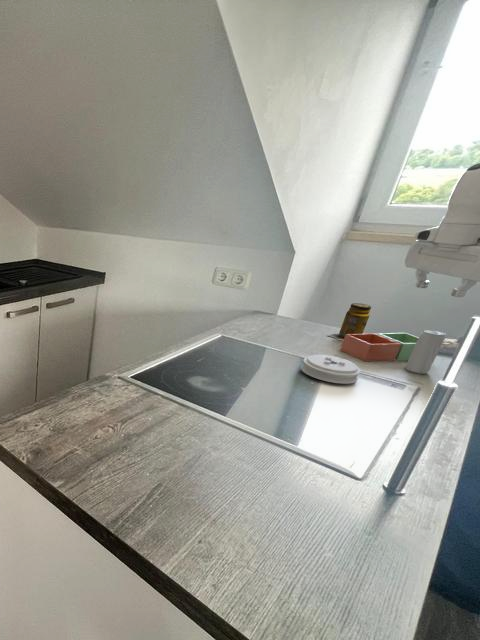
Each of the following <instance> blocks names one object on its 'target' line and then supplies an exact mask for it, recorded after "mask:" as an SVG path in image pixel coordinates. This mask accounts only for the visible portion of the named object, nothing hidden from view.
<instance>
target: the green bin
mask: <svg viewBox="0 0 480 640" xmlns="http://www.w3.org/2000/svg"><path fill="white" fill-rule="evenodd" d="M376 334H377V335H380V336H382V337H385V338H388V339H390V340H393V341H395V342H398V343H400V344H401V346H400V348H399V351H398V353H397V355H396V357H395V360H394V361H397V362H399V361H400V362H402V361H408V360H409V358H410V356H411V353H412V351H413V349H414V347H415V345H416V342H417V340H418V338H419V336H417V335H413V334H411V333H408V332H378V333H376Z"/></svg>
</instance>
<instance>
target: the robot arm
mask: <svg viewBox="0 0 480 640" xmlns="http://www.w3.org/2000/svg"><path fill="white" fill-rule="evenodd" d="M413 239H414V241H413V242H412V243H411V244H410V246H409V249H408V251H407V253H406V255H405V259H404V265H405V267H406V268H409V269H414V270H415V277H416V283H415V288H417V289H418V288H419V289H427V288H428V286H429V284H430V281H429V280H428V278H427V277H428V275H429V274H430V273H433V274H437V275H438V274H439V275H444V276H449V277H453V278H458V279H461V280H460V283H461V284H460V286H458V287H457V288H453V289H452V292H451V293H450V296H452V297H455V298H464V297H465V296H466V294H467V292H468V291H469V290H470V289H472V288H473V287H474V286H475V285H476V284H477V283H478V282H479V283H480V162H479V163H475V164H473V165H471V166H468V167H467V168H466V169H464V171H463V172H462V173H461V175H460V176H459V178H458V180H457V182H456V183H455V185H454V187H453V189H452V192H451V195H450V196H449V199H448V201H447V209H446V212H445V215H444V216H443V217H442V218H441V220H440V222H439V225H438V226H435V227H431V228H427V229H423V230H422V229H421V230H418V231H416V232H415V234H414V237H413Z"/></svg>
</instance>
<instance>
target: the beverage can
mask: <svg viewBox="0 0 480 640" xmlns="http://www.w3.org/2000/svg"><path fill="white" fill-rule="evenodd" d="M446 335H447V333H446V332H445V331H441V330H437V329H429V328H428V329H427V328H426V329H425V328H424V329H422V331H421V332H420V334H419V336H418V337H419V338H418V340H417V342H416V345H415V347H414V349H413V351H412V353H411V356H410V358H409V360H407V363H406V365H405V369H406V370H407V371H408V372H411V373H414V374H417V375H426V374H428V373H429V372H430V370H431V368H432V367H433V364H434V362H435V360H436V358H437V356H438V354H439V352H440V350H441V348H442V346H443V343H444V341H445V340H446Z"/></svg>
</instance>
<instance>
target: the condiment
mask: <svg viewBox="0 0 480 640" xmlns="http://www.w3.org/2000/svg"><path fill="white" fill-rule="evenodd" d="M371 309H372V306H371V305H369V304H365V303H358V302H355V303H351V304H350V307H349V309H348V310H347V311H346V313H345V316H344V318H343V321H342V324H341V327H340V330H339V332H338V333H331V334H330V333H329V334H328V336H329V337H331V338H334V339H337V340H339V341H342V342H343V341H344V338H345V335H346V334H364V331H365V328H366V326H367V323H368V321H369V318H370V313H371Z"/></svg>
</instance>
